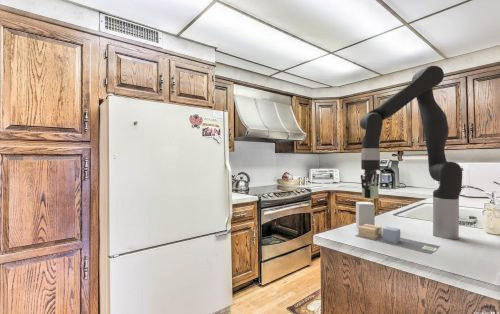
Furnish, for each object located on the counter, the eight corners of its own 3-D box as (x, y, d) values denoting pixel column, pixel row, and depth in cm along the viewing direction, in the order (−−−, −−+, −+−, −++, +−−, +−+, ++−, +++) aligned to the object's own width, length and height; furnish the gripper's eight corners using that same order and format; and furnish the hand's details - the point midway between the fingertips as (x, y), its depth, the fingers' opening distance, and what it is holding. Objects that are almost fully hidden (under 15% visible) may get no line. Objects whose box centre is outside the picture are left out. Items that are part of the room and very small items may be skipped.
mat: (366, 231, 126) (366, 230, 126) (440, 247, 104) (440, 246, 104) (354, 236, 117) (354, 235, 117) (431, 255, 96) (431, 254, 96)
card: (424, 246, 104) (424, 245, 104) (436, 249, 101) (436, 248, 101) (421, 248, 101) (421, 247, 101) (433, 251, 98) (433, 250, 98)
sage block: (367, 196, 121) (367, 185, 121) (378, 197, 117) (378, 186, 117) (362, 197, 117) (362, 186, 117) (373, 199, 114) (373, 187, 114)
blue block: (387, 237, 114) (387, 226, 114) (400, 240, 111) (400, 228, 111) (382, 240, 111) (382, 228, 111) (395, 243, 107) (395, 231, 107)
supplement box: (374, 230, 127) (375, 204, 126) (358, 230, 128) (358, 203, 128) (371, 226, 134) (371, 201, 134) (355, 226, 135) (355, 201, 135)
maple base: (365, 232, 123) (365, 223, 123) (381, 235, 117) (381, 226, 117) (358, 235, 118) (358, 226, 118) (374, 239, 113) (374, 229, 113)
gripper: (372, 159, 109) (371, 200, 110) (385, 158, 119) (385, 196, 119) (354, 159, 115) (354, 198, 115) (369, 158, 125) (368, 194, 125)
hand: (370, 197), depth 117 cm, fingers closed on sage block, 5 cm apart
